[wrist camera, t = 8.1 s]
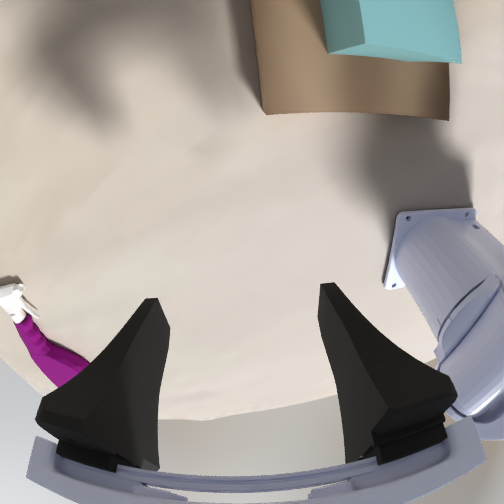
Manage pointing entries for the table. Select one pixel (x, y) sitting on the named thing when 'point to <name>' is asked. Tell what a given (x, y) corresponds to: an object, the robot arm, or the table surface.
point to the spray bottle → (39, 339)
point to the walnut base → (336, 70)
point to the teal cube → (393, 29)
